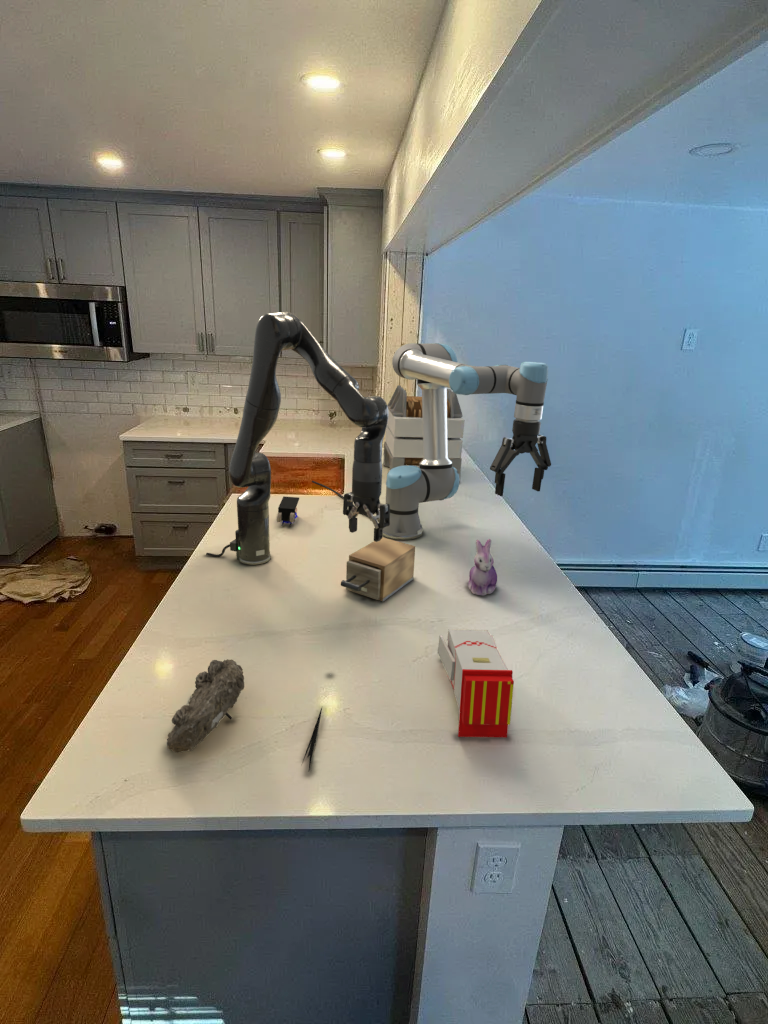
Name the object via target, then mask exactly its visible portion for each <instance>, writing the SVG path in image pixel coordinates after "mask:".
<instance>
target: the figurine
mask: <svg viewBox="0 0 768 1024" xmlns="http://www.w3.org/2000/svg"><path fill="white" fill-rule="evenodd" d="M491 547H492V539H491V538H488V539H487V540H486V541H485V543H484V545H483V544H482V542H481V541H480V540H479V539H476V540H475V549H476V551H475V552H476V553H475V556H474V558H473V563H474V566H472V567H471V568H470V570H469V575H468V579H469V580H468V583H467V587H468V589H469V591H471V593H472V594H473V595H476V596H486V595H490V594H493V592H494V591H496V588H497V583H498V574H497V570H496V568H495V567H494V563H495V562H494V561H495V560H494V556H493V555H492V553H491Z"/></svg>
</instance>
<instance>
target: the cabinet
mask: <svg viewBox="0 0 768 1024" xmlns="http://www.w3.org/2000/svg"><path fill="white" fill-rule="evenodd" d="M415 559H416V546H415V545H413V544H409V543H405V542H401V541H399V540H395V539H390V538H387V537H384V536H382V539H381V540H380V541H378V542H375V541H374V540H373V541H371V542H370V543H369V544H368V543H367V544H366V545H365V546H363V547H362V548H360V549H358V550H355V551H354V552H353V553H351V554H349V555H348V561H349V560H350V561H353V562H355V561H358V562H362V563H365V564H368V565H371V566H374V567H378V568H381V590H380V599H378V600H377V601H380V602H384V601H386V600H388V599H389V598H390V597H392V595H394V594H395V593H397V592H398V591H399V590H400V589H402V588H404V587H405V586H406V585H407V584H409V583H410V582H411V581H413V580H414V574H415Z"/></svg>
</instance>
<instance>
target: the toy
mask: <svg viewBox="0 0 768 1024" xmlns="http://www.w3.org/2000/svg"><path fill="white" fill-rule="evenodd" d="M446 640H447V643H446V641H445V639H444V636H443V635H442V634H439V637H438V646H437V656H438V657H439V659H440V661H441V663H442V666H443V668H444V670H445V672H446V674H447V677H448V679H449V681H450V684H451V687H452V690H453V693H454V697H455V701H456V705H457V708H458V711H459V714H458V715H459V716H458V730H457V731H458V732H457V737H458V738H508V731H509V726H510V725H511V717H512V707H513V697H514V696H513V695H514V684H515V680H514V679H513V673H514V671H513V670H512V669H508V667H507V665H506V662H505V661H504V659H503V658H502V655H501V653H500V651H499V649H498V647H497V643H496V639H495V637H494V635H493V634H491V632H490V631H489V629H467V628H466V629H465V628H463V629H461V628H460V629H459V628H448V630H447V639H446Z"/></svg>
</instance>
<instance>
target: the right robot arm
mask: <svg viewBox="0 0 768 1024" xmlns="http://www.w3.org/2000/svg"><path fill="white" fill-rule="evenodd" d="M391 359H392V360H391V365H392V368H393V371H394V373H395V374H396V375H397V376H398V377H400V378H402V379H405V380H410V381H414V380H416V381H417V382H416V385H417V386H418V387H419V388H420V390H421V397H422V421H423V460H422V461H421V462H420V463H419V466H412V465H409V466H407V465H404V466H398V467H395V468H393V469H391V470H390V469H389V470H388V472H387V475H386V479H385V504H387V503H388V504H389V505H390V525H389V526H387V527H384V528H383V535H382V537H384V538H387V539H391V540H395V541H410V540H415V539H418V538H420V537H421V536H422V535H423V525H422V524H421V518H420V515H419V507H420V506H419V505H420V504H421V503H422V504H423V503H428V502H429V503H430V502H435V501H444V500H447V499H450V498H453V497H454V496H455V494H457V493H458V490H459V487H460V482H459V474H458V473H457V470H456V469H455V468H454V467H452V462H451V461H450V460H449V459H448V446H447V389H450V390H451V391H452V392H454V393H455V394H456V395H460V396H462V395H463V396H469V395H489V394H509V395H514V396H516V398H515V406H514V413H513V418H514V419H513V421H512V429H511V431H512V438H509V437H506V436H504V437H503V438H502V441H501V442H502V443H501V445H500V447H499V449H498V451H497V453H496V455H495V457H494V458H493V461H492V463H491V465H490V467H489V470H490V471H492V472H494V484H495V489H494V494H495V495H497V496H499V497H504V489H505V482H506V473H505V472H506V470H507V469H508V467H509V466H510V465H511V463H512V462H513V461H514V459H515V458H516V457H517V456H519V455H520V454H525V453H526V454H529V455H530V456H531V458H532V459H533V461H534V463H535V465H536V467H534V472H533V479H532V485H531V489H532V490H534V491H535V492H541V487H542V481H543V479H544V476H545V471H548V469H549V468H551V466H552V461H551V458H550V453H549V450H548V445H547V436H545V435H543V434H542V435H541V426H542V422H541V420H542V419H543V412H544V411H543V410H544V404H545V403H544V402H545V399H546V391H547V385H548V381H549V366H548V364H547V363H545V362H537V361H523V362H521V364H520V366H519V367H516V366H511V365H508V364H494V365H490V366H489V365H488V366H487V365H485V366H479V365H477V366H476V365H470V364H465V363H463V362H458V361H459V360H458V356H457V354H456V351H455V350H454V349H453V347H452V346H450V345H449V344H446V343H439V342H435V343H429V342H428V343H427V342H426V343H425V342H424V343H418V342H417V343H415V342H411V343H406V344H404V345H401V346H399V347H398V348H396V350H395V352H394V354H393V356H392V358H391ZM536 445H537V446H536ZM311 483H312V484H315V485H317V486H320V487H322V488H325V489H327V490H329V491H331V492H332V493H334V494H335V495H336V496H337V495H338V497H340V498H341V499H342V500H344V495H342V494H340V493H339V492H338V491H336V490H335V489H333V488H330V487H329V486H327V485H324V484H322V483H320V482H317V481H315V480H311ZM353 507H354V504H353ZM376 520H377V519H376ZM377 521H378V520H377Z"/></svg>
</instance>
